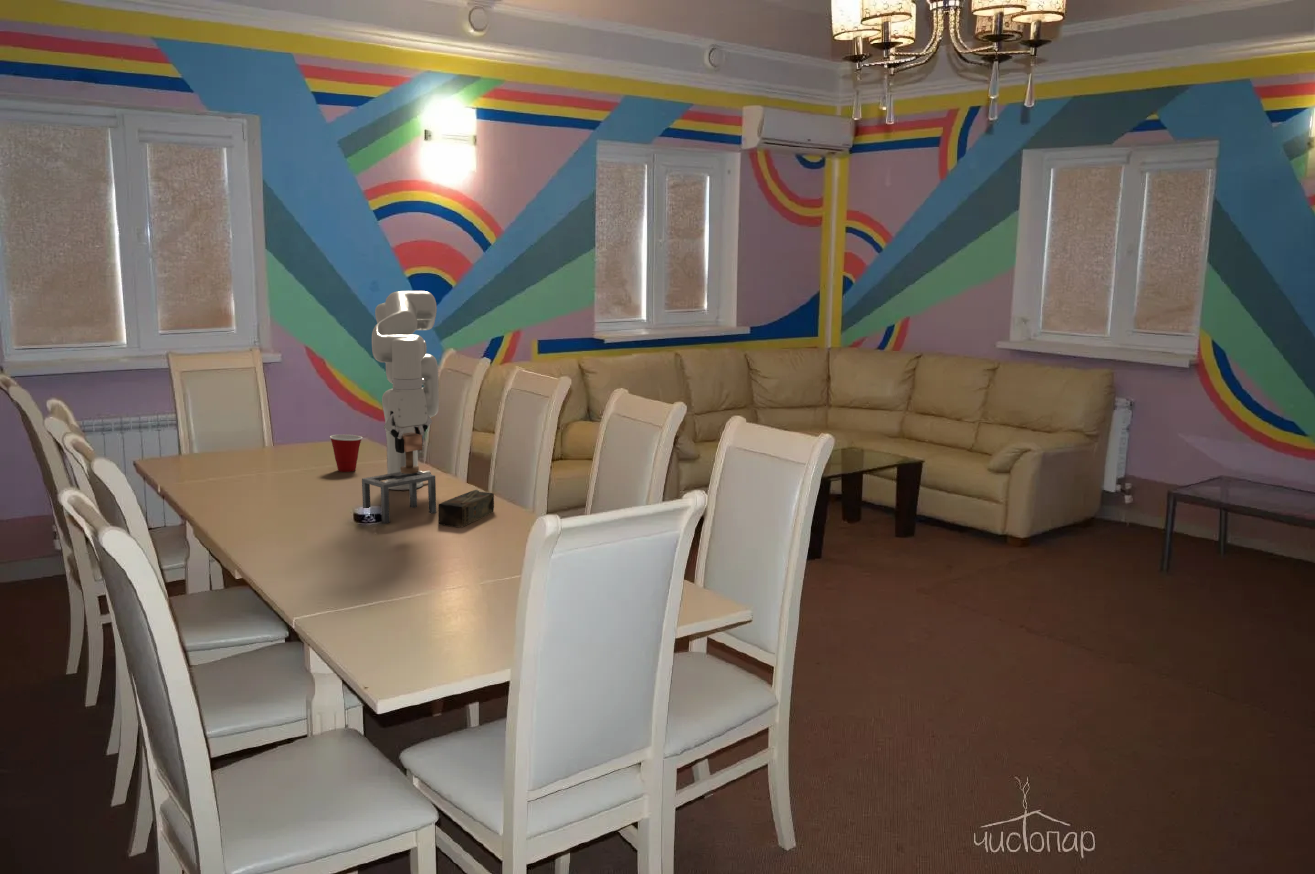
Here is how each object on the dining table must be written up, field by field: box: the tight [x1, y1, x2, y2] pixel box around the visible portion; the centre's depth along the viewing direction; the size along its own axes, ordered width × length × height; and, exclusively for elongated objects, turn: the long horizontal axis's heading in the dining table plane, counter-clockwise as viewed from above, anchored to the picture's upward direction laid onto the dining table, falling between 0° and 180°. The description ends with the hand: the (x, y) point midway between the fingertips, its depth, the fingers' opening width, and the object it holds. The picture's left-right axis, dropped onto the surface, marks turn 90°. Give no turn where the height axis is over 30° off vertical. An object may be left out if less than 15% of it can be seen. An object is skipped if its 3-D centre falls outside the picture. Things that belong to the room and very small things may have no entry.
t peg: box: [401, 432, 423, 474], centre depth 274 cm, size 5×5×10 cm
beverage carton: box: [437, 489, 495, 528], centre depth 286 cm, size 8×19×7 cm, turn 161°
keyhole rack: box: [361, 470, 437, 524], centre depth 288 cm, size 17×11×11 cm, turn 138°
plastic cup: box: [329, 434, 363, 473], centre depth 346 cm, size 11×11×12 cm
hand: (409, 450), depth 274 cm, fingers closed on t peg, 5 cm apart
